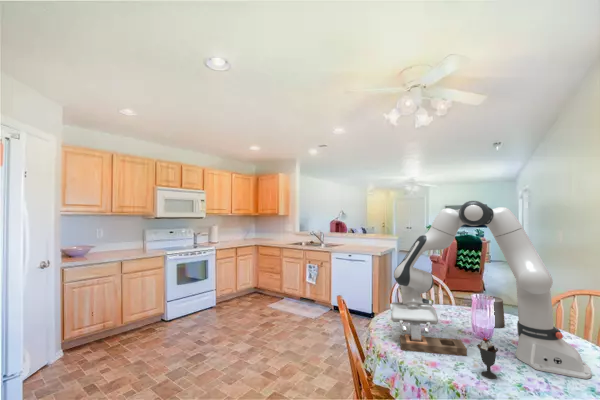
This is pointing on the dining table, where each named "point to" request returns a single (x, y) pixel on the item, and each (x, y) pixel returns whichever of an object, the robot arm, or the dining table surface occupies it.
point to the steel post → (415, 332)
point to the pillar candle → (499, 312)
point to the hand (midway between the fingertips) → (415, 332)
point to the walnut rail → (433, 345)
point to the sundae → (488, 356)
